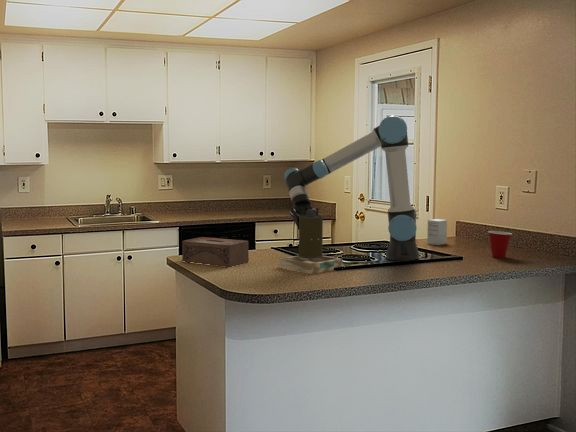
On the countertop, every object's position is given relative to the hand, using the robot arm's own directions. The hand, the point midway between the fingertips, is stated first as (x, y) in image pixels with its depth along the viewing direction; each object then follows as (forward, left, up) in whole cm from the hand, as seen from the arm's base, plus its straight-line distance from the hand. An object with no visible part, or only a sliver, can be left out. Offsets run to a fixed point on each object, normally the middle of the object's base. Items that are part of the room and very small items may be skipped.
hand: (314, 241), depth 293 cm
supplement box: (-98, -8, -12) cm, 99 cm away
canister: (-1, -4, -7) cm, 8 cm away
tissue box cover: (+20, -42, -12) cm, 48 cm away
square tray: (-1, -4, -12) cm, 13 cm away
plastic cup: (-84, +36, -12) cm, 93 cm away
